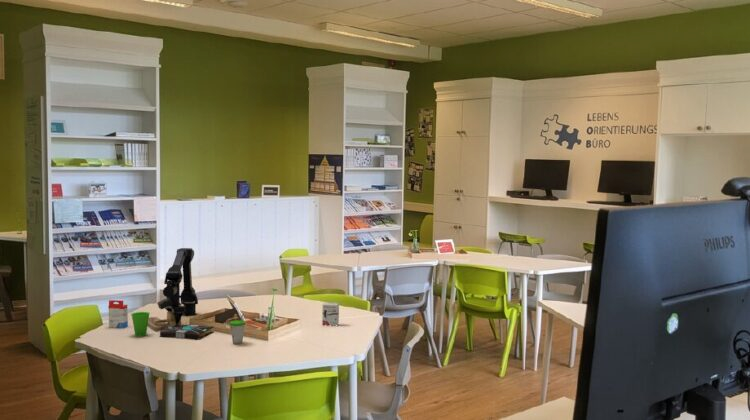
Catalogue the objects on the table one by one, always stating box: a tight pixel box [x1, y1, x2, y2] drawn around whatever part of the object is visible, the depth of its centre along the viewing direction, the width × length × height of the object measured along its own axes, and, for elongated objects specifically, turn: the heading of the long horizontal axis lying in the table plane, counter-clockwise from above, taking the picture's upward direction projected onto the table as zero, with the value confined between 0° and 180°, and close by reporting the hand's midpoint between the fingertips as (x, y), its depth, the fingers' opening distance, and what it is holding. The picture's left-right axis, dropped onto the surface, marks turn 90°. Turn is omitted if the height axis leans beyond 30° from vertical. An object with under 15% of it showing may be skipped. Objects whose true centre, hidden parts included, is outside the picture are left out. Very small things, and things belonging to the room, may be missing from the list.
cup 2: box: [229, 313, 246, 345], centre depth 321 cm, size 8×8×15 cm
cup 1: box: [130, 311, 151, 337], centre depth 334 cm, size 9×9×11 cm
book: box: [159, 324, 215, 341], centre depth 337 cm, size 22×17×5 cm
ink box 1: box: [108, 299, 129, 329], centre depth 350 cm, size 8×5×15 cm, turn 84°
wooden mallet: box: [154, 311, 182, 327], centre depth 351 cm, size 14×5×8 cm, turn 125°
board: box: [147, 316, 171, 332], centre depth 355 cm, size 8×25×2 cm, turn 35°
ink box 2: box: [321, 302, 340, 326], centre depth 361 cm, size 8×5×12 cm, turn 86°
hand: (174, 322), depth 353 cm, fingers open, 9 cm apart
